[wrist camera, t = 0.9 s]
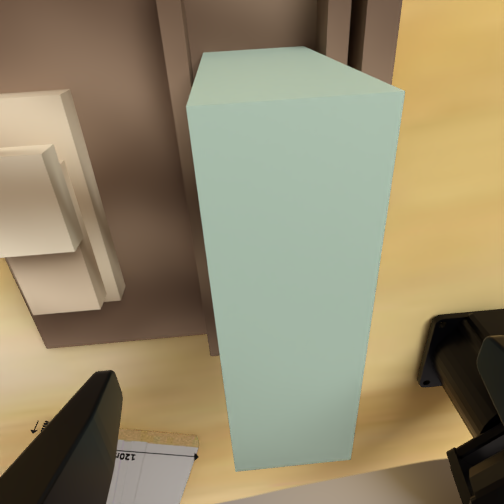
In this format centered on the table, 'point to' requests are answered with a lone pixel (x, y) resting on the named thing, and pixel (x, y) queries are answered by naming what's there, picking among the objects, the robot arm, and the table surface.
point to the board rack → (161, 127)
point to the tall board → (292, 240)
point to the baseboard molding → (150, 467)
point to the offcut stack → (53, 207)
